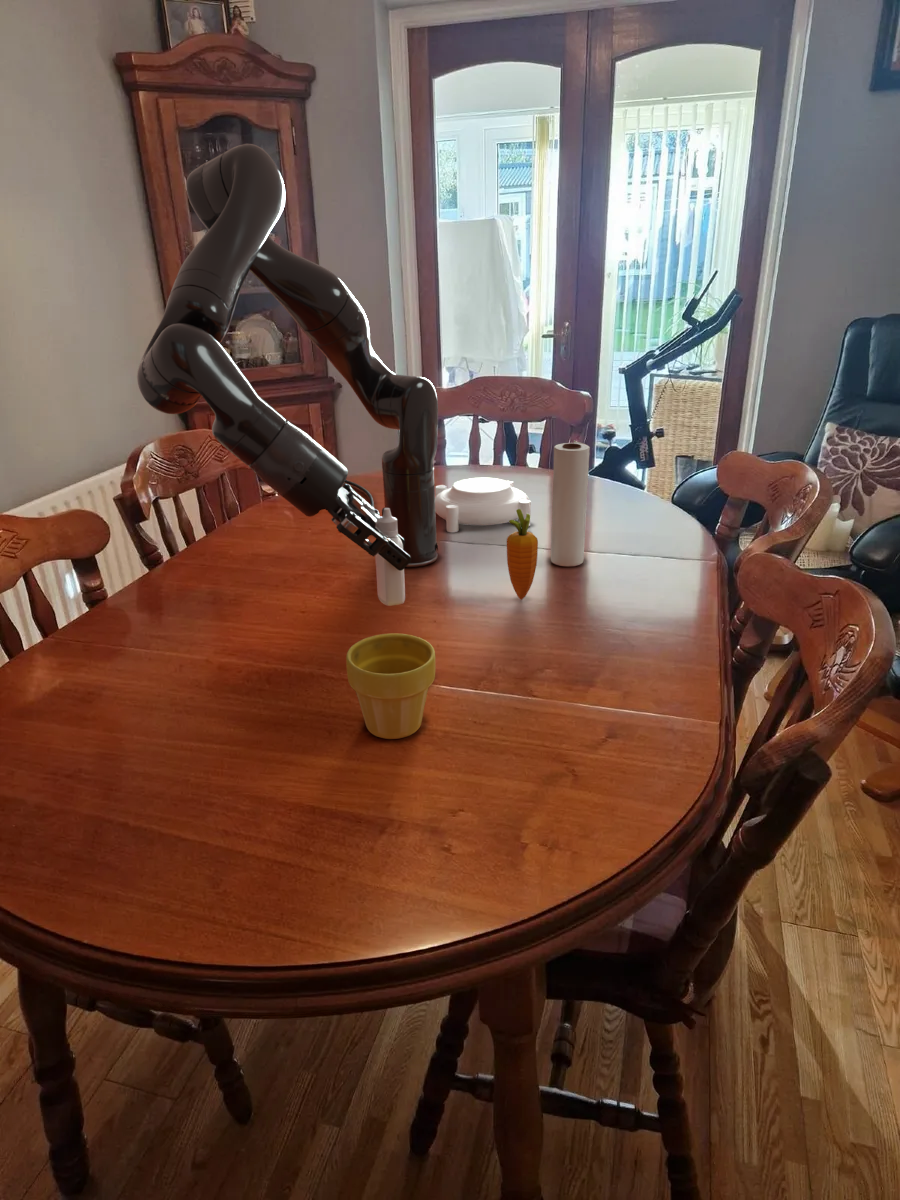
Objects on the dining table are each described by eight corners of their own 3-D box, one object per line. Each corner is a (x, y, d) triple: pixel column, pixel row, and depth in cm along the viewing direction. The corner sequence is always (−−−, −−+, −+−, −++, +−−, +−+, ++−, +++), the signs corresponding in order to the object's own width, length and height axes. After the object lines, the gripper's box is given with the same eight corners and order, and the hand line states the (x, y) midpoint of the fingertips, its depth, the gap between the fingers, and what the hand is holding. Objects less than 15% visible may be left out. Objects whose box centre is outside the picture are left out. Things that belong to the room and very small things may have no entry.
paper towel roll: (568, 570, 134) (574, 451, 125) (543, 561, 138) (546, 445, 130) (594, 559, 139) (601, 444, 130) (569, 551, 143) (574, 438, 134)
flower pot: (449, 708, 94) (447, 638, 90) (419, 755, 85) (415, 680, 81) (373, 695, 97) (368, 627, 93) (336, 740, 88) (329, 667, 84)
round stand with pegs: (467, 495, 179) (466, 465, 176) (557, 511, 166) (558, 479, 163) (403, 522, 161) (402, 490, 158) (498, 542, 148) (498, 507, 145)
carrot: (535, 606, 121) (537, 516, 114) (504, 604, 122) (504, 515, 115) (538, 594, 125) (540, 507, 119) (508, 592, 126) (508, 506, 120)
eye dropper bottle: (368, 605, 95) (362, 514, 90) (382, 588, 100) (377, 501, 95) (401, 608, 94) (396, 516, 89) (413, 591, 99) (410, 503, 94)
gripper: (279, 476, 96) (378, 557, 102) (275, 509, 83) (389, 599, 89) (318, 432, 94) (416, 517, 101) (320, 459, 81) (432, 554, 88)
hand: (403, 555), depth 95 cm, fingers closed on eye dropper bottle, 5 cm apart
